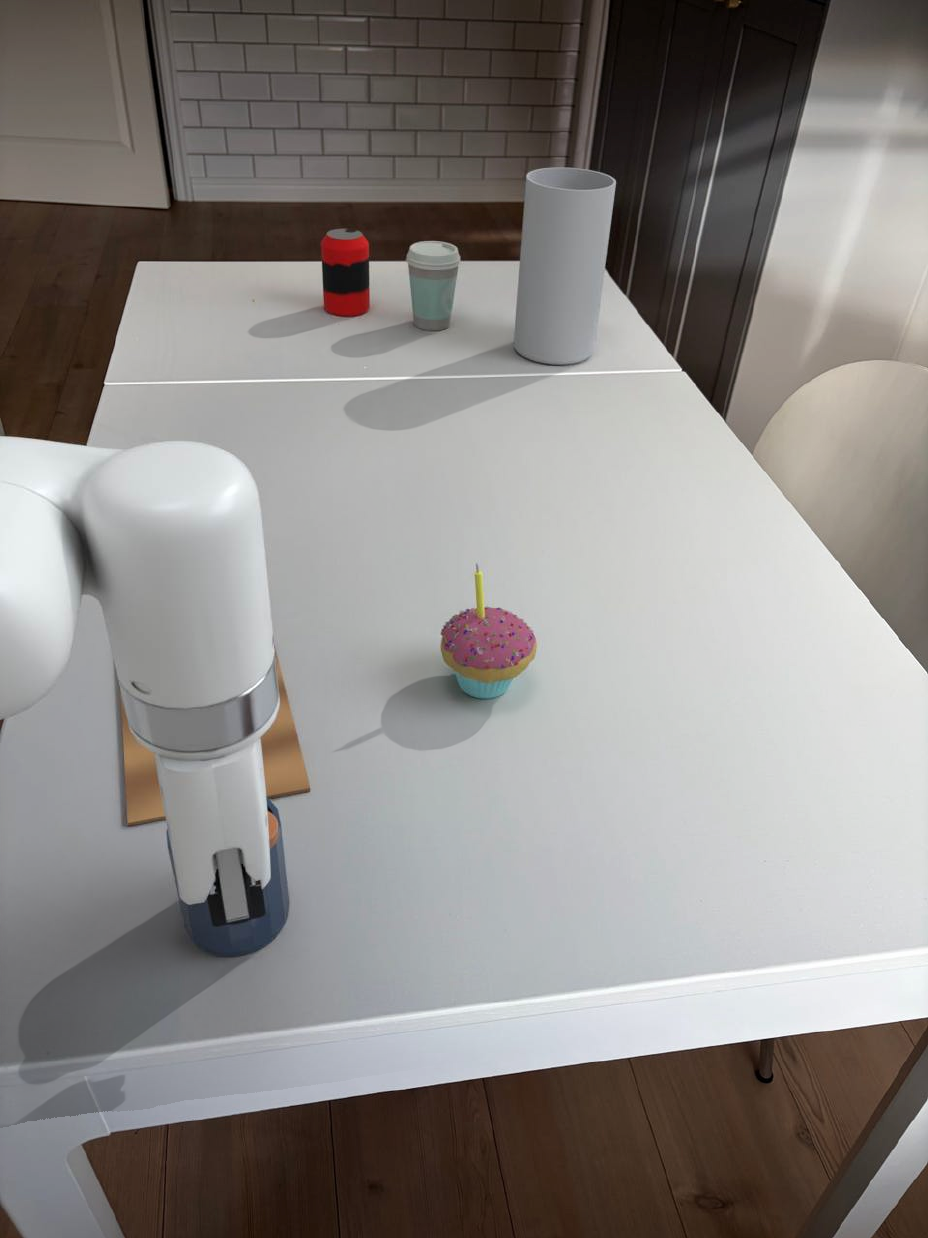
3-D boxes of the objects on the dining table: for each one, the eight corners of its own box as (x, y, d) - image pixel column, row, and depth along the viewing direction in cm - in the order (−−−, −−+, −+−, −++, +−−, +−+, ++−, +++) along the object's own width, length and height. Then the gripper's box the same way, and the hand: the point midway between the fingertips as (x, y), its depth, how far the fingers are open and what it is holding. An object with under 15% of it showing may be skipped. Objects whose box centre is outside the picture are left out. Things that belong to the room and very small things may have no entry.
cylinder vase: (545, 372, 146) (563, 194, 131) (497, 343, 154) (508, 172, 139) (610, 357, 152) (634, 184, 137) (560, 329, 160) (578, 164, 145)
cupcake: (419, 677, 91) (421, 569, 83) (486, 640, 95) (494, 535, 88) (484, 727, 86) (492, 617, 78) (551, 685, 91) (565, 578, 83)
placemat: (310, 791, 79) (310, 787, 79) (128, 826, 76) (127, 823, 75) (245, 529, 109) (245, 526, 109) (112, 546, 106) (111, 542, 105)
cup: (246, 974, 66) (233, 890, 61) (162, 929, 69) (142, 843, 63) (309, 896, 71) (301, 812, 66) (228, 856, 74) (215, 772, 68)
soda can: (377, 305, 165) (376, 231, 158) (357, 320, 160) (355, 243, 152) (336, 297, 167) (334, 224, 160) (315, 312, 162) (311, 236, 154)
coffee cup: (446, 337, 155) (449, 260, 148) (396, 328, 158) (397, 251, 150) (466, 319, 162) (469, 244, 155) (417, 310, 164) (419, 236, 157)
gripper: (118, 609, 54) (167, 832, 65) (128, 811, 43) (184, 1038, 54) (257, 590, 56) (281, 809, 67) (301, 779, 45) (321, 1004, 56)
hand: (238, 911), depth 60 cm, fingers closed
